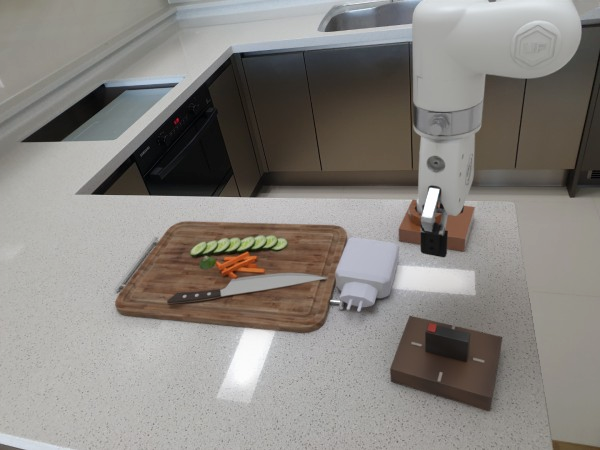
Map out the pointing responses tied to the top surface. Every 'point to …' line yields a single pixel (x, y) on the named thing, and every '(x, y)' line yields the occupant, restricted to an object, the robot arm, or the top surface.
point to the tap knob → (447, 342)
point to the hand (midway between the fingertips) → (443, 231)
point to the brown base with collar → (455, 224)
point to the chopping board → (238, 275)
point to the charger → (366, 271)
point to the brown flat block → (447, 366)
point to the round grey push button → (419, 208)
